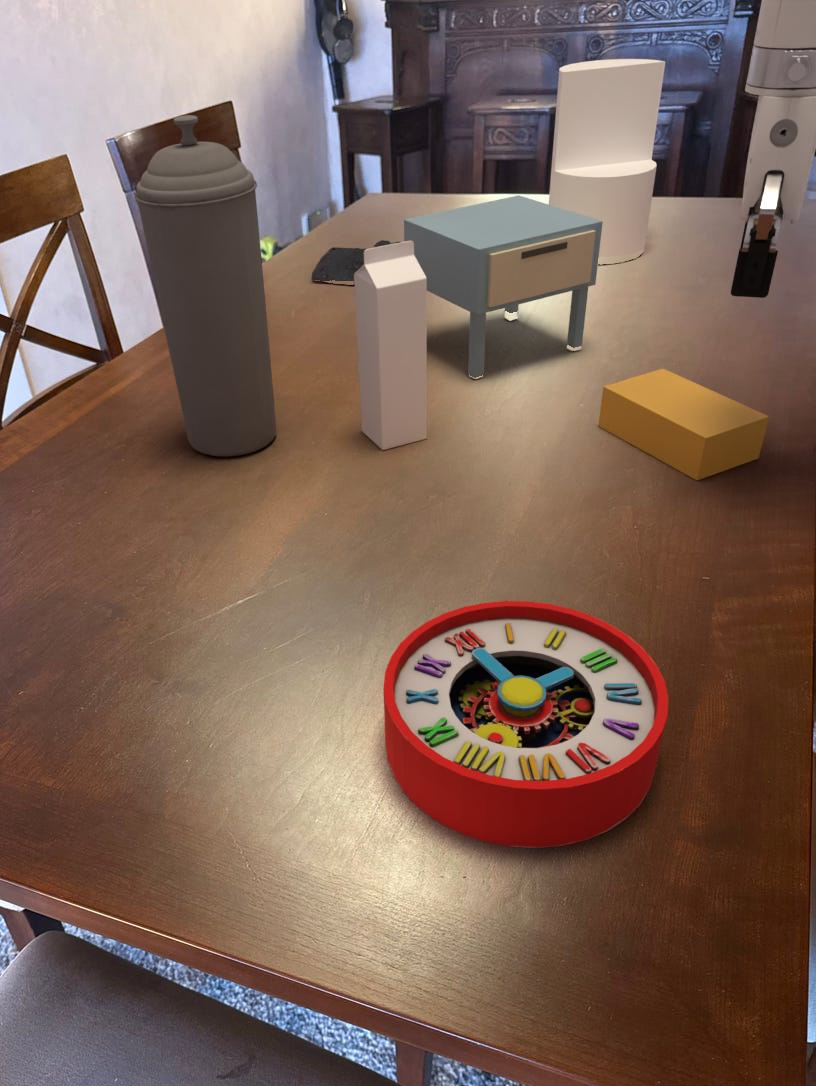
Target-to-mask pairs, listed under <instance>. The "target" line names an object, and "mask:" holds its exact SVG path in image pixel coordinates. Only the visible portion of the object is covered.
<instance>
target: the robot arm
mask: <svg viewBox="0 0 816 1086" xmlns="http://www.w3.org/2000/svg"><path fill="white" fill-rule="evenodd" d="M745 83H746V84H745V88H744V91H745V92H746V93H748V94H751V95H756V96H758V98H757V105H756V109H755V114H754V121H753V126H752V131H751V137H750V142H749V148H748V153H747V159H746V160H747V162H746V167H745V174H744V182H743V192H742V201H741V213H740V214H741V215H740V219H741V220H742V221H743V222H744V228H743V232H742V239H741V243H740V248H739V249H738V255H737V259H736V264H735V269H734V274H733V279H732V284H731V287H730V288H731V289H730V295H731V296H732V297H740V298H741V297H742V298H743V297H744V298H757V299H758V298H761V299H764V298H767V297H768V296H769V293H770V288H771V284H772V280H773V275H774V272H775V265H776V262H777V257H778V253H779V250H778V249H777V245H778V242H779V241H778V240H779V236H780V231H781V227H782V223H783V220H785V221H790V225H795V224H796V223H797V222H798V221H800V219H801V216H802V215H801V214H802V210H803V204H804V201H805V196H806V191H807V188H808V183H809V180H810V176H811V170H812V167H813V162H814V159H815V152H816V0H761V2H760V8H759V14H758V19H757V25H756V30H755V35H754V39H753V46H752V50H751V57H750V61H749V65H748V73H747V77H746V82H745Z"/></svg>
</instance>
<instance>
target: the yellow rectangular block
mask: <svg viewBox="0 0 816 1086" xmlns="http://www.w3.org/2000/svg"><path fill="white" fill-rule="evenodd" d="M600 402H601V403H600V411H599V418H598V424H597V425H598V427H600V428H601V429H603V430H605V431H607V432H608V433H610V434H612V435H614V436H615V437H618V438H619V439H621V440H623V441H624V442H627V443H629V444H630V445H632V446H633V447H635V448H637V449H639V450H641V451H643V452H644V453H646V454H648V455H650V456H652V457H653V458H655V459H657V460H659V461H660V462H663V463H664V464H665V465H668V466H670V467H672V468H673V469H674V470H677V471H678V472H681V473H682V474H684V475H686V476H688V477H689V478H691V479H693V480H695V481H700V480H702V479H706V478H708V477H711V476H713V475H716V474H719V473H722V472H725V471H727V470H730V469H734V468H736V467H739V466H742V465H745V464H748V463H749V462H753V461H755V460H758V459H759V458H760V453H761V450H762V448H763V447H762V446H763V442H764V438H765V434H766V431H767V427H768V423H769V419H770V416H769V415H767V414H765V413H762V412H761V411H757V410H756V409H754V408H751V407H749V406H747V405H745V404H743V403H741V402H739V401H737V400H733V399H732V398H729V397H727V396H725V395H723V394H720V393H718V392H716V391H714V390H712V389H709V388H707V387H704V386H702V385H701V384H698V383H696V382H694V381H691V380H690V379H688V378H685V377H683V376H681V375H679V374H677V373H674V372H672V371H670V370H667V369H665V368H660V369H657V370H653V371H650V372H646V373H644V374H640V375H636V376H633V377H629V378H627V379H624V380H620V381H617V382H613V383H610V384H607V385H604V386H602V395H601V401H600Z"/></svg>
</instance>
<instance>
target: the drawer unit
mask: <svg viewBox="0 0 816 1086" xmlns="http://www.w3.org/2000/svg"><path fill="white" fill-rule="evenodd" d="M602 223H603V221H600V220H597V219H594V218H591V217H587V216H584V215H581V214H578V213H574V212H571V211H568V210H565V209H561V208H558V207H555V206H552V205H549V203H545V202H541V201H539V200H535V199H533V198H528V197H526V196H522V195H514V196H509V197H503V198H500V199H495V200H490V201H485V202H480V203H476V204H472V205H471V204H470V205H467V206H461V207H457V208H451V209H447V210H442V211H436V212H433V213H432V212H431V213H428V214H427V213H426V214H423V215H418V216H414V217H409V218H404V219H403V242H406V241H413V242H414V256H415V257H416V259H417V261H418V263H419V265H420V267H421V268H422V270H423V272H424V274H425V276H426V279H427V292H429V293H431V294H433V295H435V296H437V297H438V298H440V299H443V300H445V301H447V302H449V303H451V304H452V305H455V306H457V307H459V308H461V309H463V310H465V311H467V312H469V334H468V335H469V339H468V369H467V370H468V371H467V372H468V373H467V375H468V374H469V375H470V376H472V377H474V378H476V377H479V376H482V375H483V376H484V370H485V369H484V367H485V348H486V347H485V345H486V320H487V313H491V312H495V311H499V310H502V309H504V312H505V311H507V312H509V313H513V312H517V311H518V312H519V306H520V305H522V304H526V303H530V302H535V301H537V300H538V301H539V300H542V299H545V298H549V297H553V296H557V295H561V294H564V293H569V292H571V300H570V310H569V320H568V329H567V330H568V332H567V341H566V346H567V345H569V346H571V347H573V348H575V347H579V346H582V347H583V339H584V330H585V323H586V322H585V321H586V313H587V304H588V303H587V302H588V296H589V287H593V286H595V285H596V282H597V275H598V258H599V249H600V241H601V232H602Z"/></svg>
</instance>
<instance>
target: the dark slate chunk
mask: <svg viewBox="0 0 816 1086" xmlns="http://www.w3.org/2000/svg"><path fill="white" fill-rule="evenodd" d="M401 242H402V241H395V242H392V241H391V242H390V240H385V239H384V240H383V239H382V240H379V241H377V242H376V243H375V244H374V245H373V248H375V247H380V246H385V245H390V244H396V243H401ZM366 249H367V248H359V247H335V246H334V247H331V248H329V249H328V250H327V251H326V252H325V253H324V254H323V255H322V256H321V258H320V259H319V261H318V262H317V264H316V265H315V267H314V269H313V270H312V272H311V280H312V281H314V280H320V281H330V280H331V281H332V280H335V281H354V273H356V272H357V271H358V270H359V269H360V268H361V267H362V266H363V265H364V251H365V250H366Z"/></svg>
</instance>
